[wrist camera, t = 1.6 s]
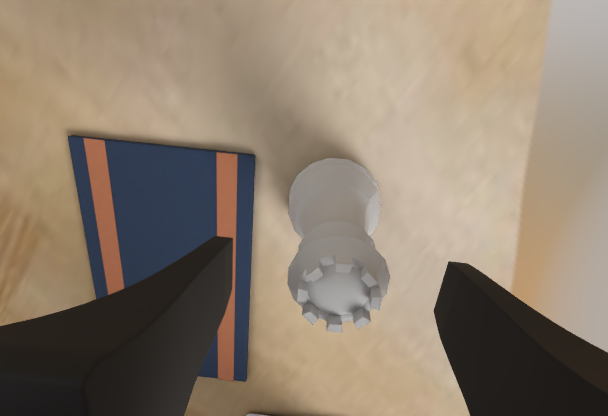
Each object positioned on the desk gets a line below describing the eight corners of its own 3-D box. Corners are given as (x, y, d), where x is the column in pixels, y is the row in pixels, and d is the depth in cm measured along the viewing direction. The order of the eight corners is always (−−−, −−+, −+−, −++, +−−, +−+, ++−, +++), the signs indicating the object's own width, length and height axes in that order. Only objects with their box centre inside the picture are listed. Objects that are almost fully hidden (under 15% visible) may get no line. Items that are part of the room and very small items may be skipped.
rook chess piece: (354, 138, 17) (376, 206, 9) (393, 215, 18) (439, 326, 11) (272, 181, 18) (235, 272, 10) (315, 250, 19) (309, 373, 12)
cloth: (246, 378, 23) (245, 382, 23) (110, 362, 23) (107, 366, 23) (255, 154, 17) (254, 156, 17) (71, 134, 17) (66, 136, 17)
